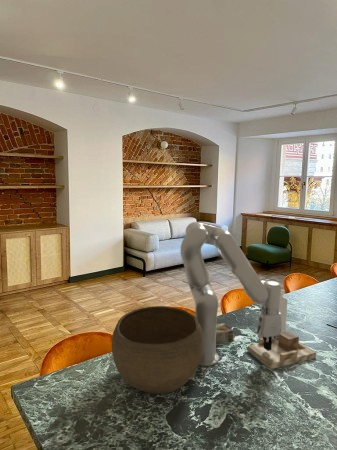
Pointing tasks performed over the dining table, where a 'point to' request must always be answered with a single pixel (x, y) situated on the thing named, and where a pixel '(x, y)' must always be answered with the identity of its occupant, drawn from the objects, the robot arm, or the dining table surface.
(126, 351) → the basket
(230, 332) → the juice carton
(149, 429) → the dining table surface
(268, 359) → the tan puzzle board
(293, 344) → the light brown block
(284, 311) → the milk
